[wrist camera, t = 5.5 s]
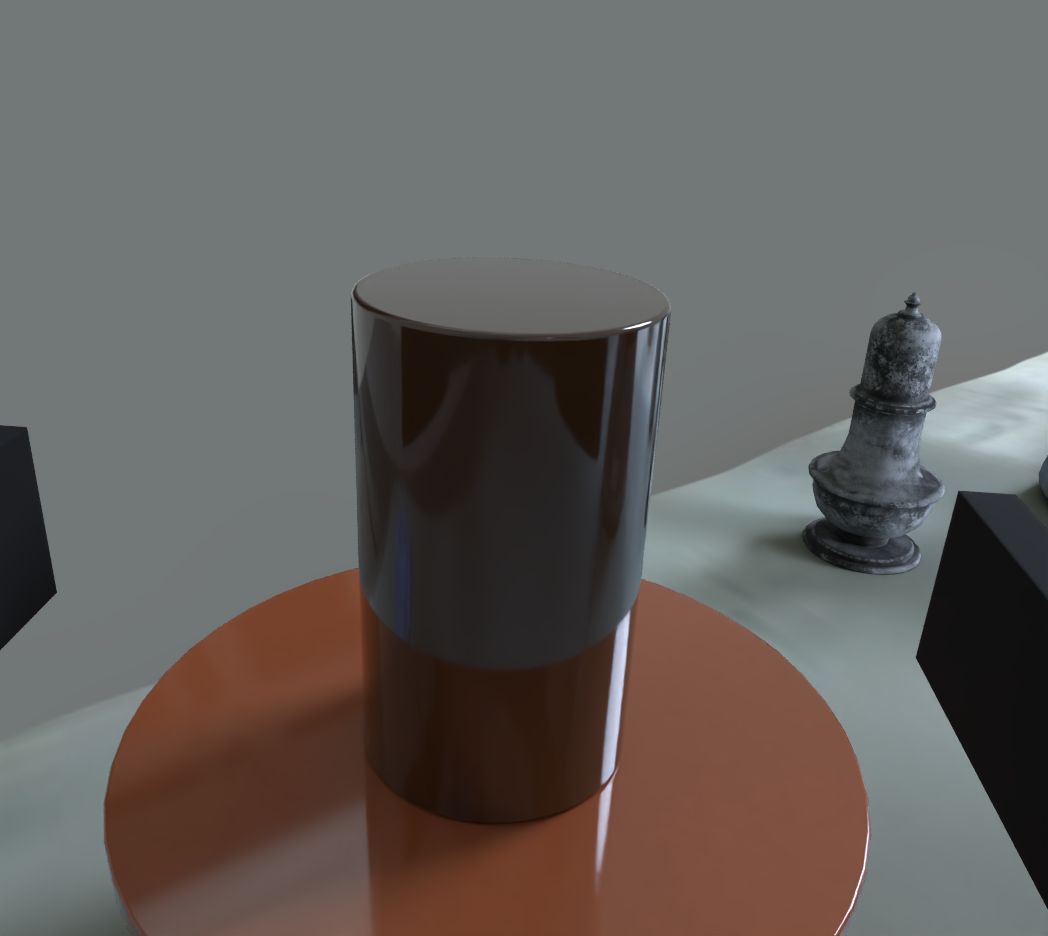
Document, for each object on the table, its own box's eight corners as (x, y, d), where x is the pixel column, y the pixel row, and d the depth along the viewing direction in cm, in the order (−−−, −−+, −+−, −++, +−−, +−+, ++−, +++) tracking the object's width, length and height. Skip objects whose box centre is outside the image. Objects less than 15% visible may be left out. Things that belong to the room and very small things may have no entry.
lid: (784, 612, 26) (854, 235, 22) (979, 1204, 13) (1251, 530, 9) (260, 571, 27) (231, 198, 23) (-76, 1092, 13) (-297, 419, 9)
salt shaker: (770, 527, 46) (812, 280, 41) (863, 509, 48) (913, 273, 43) (856, 587, 41) (916, 315, 36) (956, 563, 43) (1023, 305, 39)
